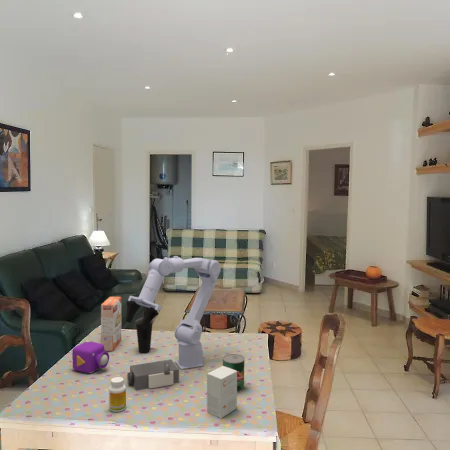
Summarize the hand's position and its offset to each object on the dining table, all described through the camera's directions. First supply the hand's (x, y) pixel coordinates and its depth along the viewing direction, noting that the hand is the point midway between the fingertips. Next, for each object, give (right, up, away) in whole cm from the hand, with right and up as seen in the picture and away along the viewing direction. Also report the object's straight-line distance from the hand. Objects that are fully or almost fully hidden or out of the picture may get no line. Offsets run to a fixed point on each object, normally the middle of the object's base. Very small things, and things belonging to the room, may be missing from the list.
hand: (135, 325), depth 156 cm
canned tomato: (+35, -23, +2) cm, 42 cm away
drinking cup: (-3, -20, +34) cm, 40 cm away
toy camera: (-20, -21, +16) cm, 33 cm away
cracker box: (-19, -19, +41) cm, 48 cm away
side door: (+9, -22, +1) cm, 24 cm away
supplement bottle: (-3, -24, -13) cm, 28 cm away
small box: (+31, -25, -14) cm, 42 cm away
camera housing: (+6, -22, +7) cm, 24 cm away
